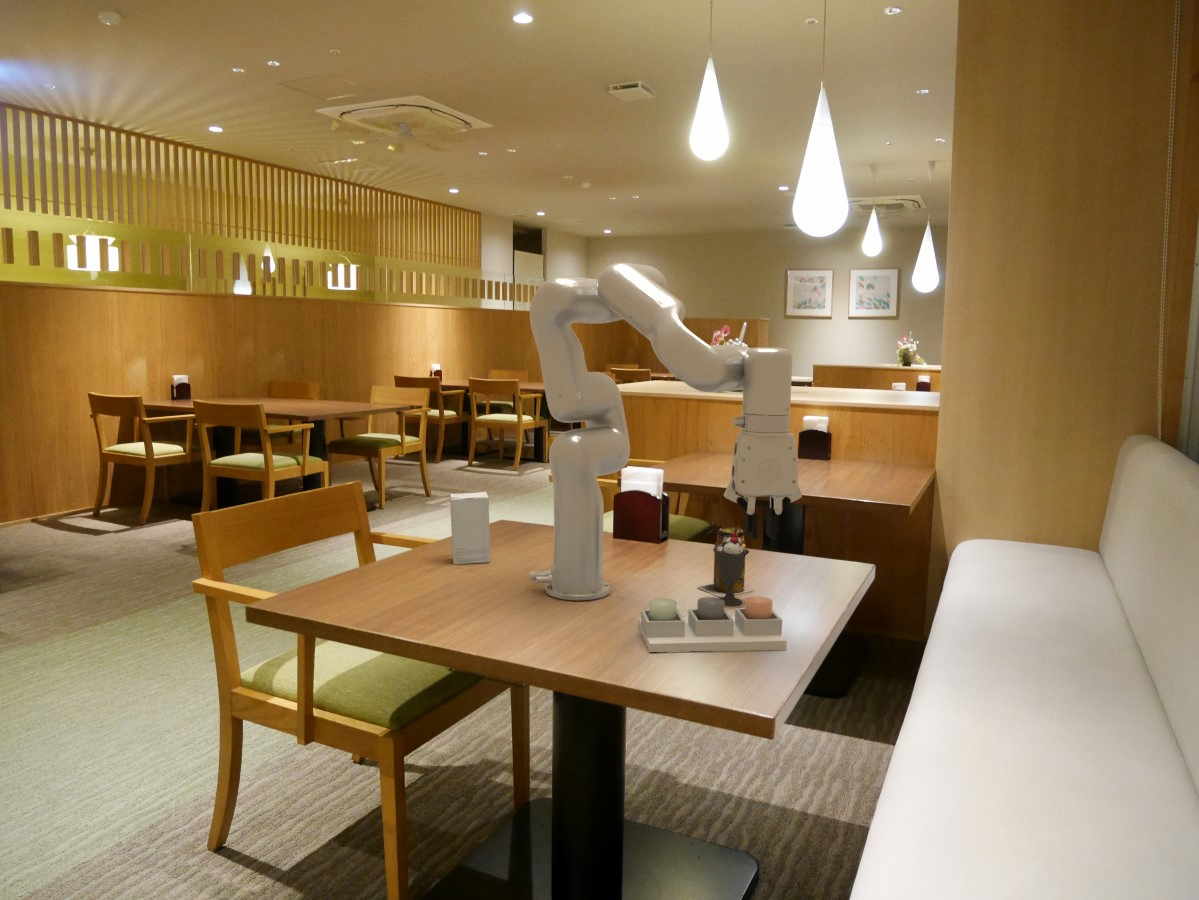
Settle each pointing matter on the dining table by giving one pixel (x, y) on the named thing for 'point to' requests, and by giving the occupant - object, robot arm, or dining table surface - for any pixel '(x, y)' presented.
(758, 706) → the dining table surface
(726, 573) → the sundae
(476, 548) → the skincare box
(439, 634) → the dining table surface
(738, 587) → the condiment
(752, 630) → the panel
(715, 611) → the charcoal button
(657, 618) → the sage button
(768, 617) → the terracotta button
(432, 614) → the dining table surface
